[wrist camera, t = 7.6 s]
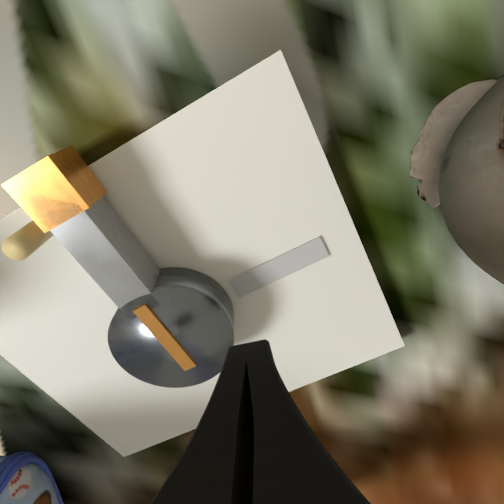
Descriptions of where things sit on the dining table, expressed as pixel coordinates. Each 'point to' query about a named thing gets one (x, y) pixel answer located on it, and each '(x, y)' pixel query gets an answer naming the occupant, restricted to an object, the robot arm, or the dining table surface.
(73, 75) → the dining table surface
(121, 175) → the board
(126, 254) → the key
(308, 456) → the robot arm
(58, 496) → the lunch box
